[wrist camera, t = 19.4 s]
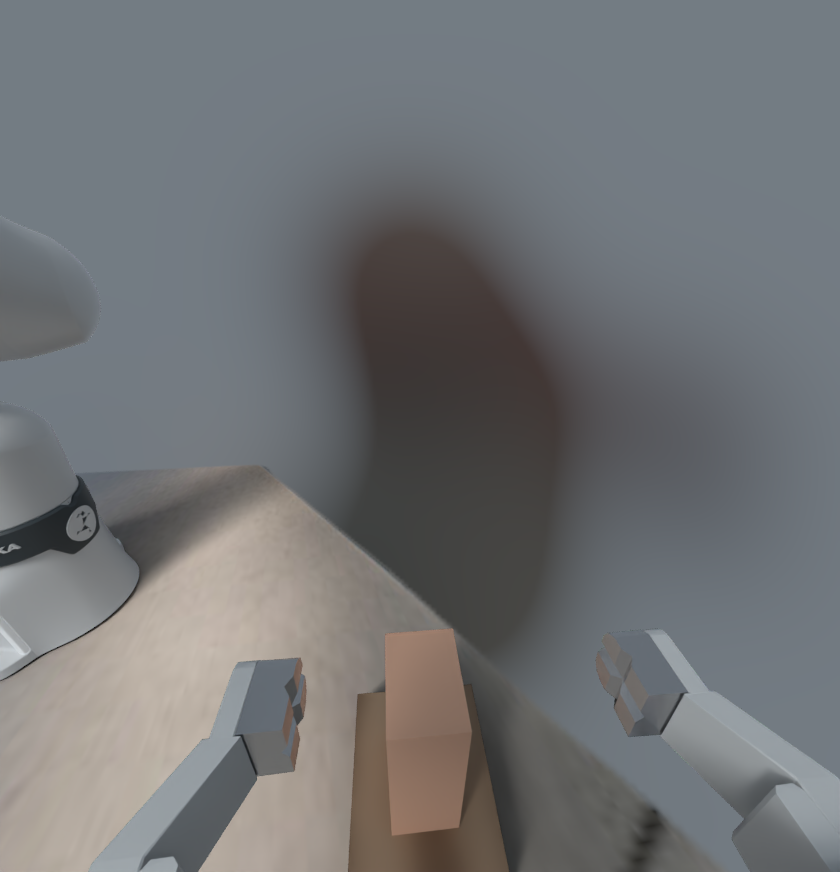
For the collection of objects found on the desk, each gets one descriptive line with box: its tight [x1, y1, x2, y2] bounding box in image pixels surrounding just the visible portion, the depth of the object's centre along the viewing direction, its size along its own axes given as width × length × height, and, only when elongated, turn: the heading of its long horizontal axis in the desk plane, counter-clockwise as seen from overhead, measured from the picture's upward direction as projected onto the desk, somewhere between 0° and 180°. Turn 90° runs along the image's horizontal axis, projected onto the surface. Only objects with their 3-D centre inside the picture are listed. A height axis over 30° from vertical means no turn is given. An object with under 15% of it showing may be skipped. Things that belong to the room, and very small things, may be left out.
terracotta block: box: [385, 628, 472, 836], centre depth 25 cm, size 4×6×12 cm
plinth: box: [348, 684, 509, 872], centre depth 28 cm, size 10×12×3 cm
